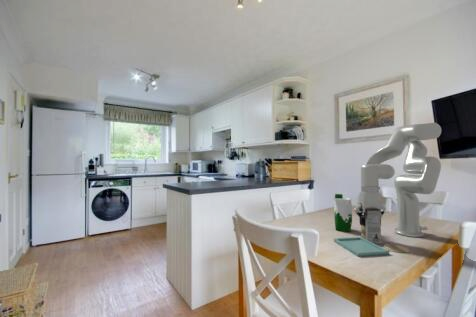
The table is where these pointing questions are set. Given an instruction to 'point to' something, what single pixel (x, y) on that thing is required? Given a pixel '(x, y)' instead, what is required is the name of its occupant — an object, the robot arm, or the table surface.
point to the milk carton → (342, 213)
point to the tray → (361, 246)
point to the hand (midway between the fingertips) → (370, 224)
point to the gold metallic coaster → (396, 248)
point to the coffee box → (372, 226)
